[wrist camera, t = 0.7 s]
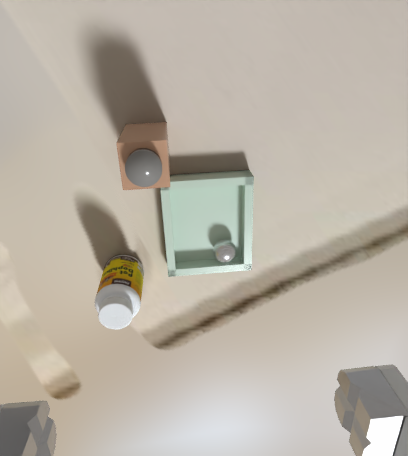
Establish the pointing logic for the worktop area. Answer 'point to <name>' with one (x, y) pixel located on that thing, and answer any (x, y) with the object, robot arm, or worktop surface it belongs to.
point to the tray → (207, 221)
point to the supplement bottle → (119, 291)
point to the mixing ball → (224, 250)
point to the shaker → (144, 156)
